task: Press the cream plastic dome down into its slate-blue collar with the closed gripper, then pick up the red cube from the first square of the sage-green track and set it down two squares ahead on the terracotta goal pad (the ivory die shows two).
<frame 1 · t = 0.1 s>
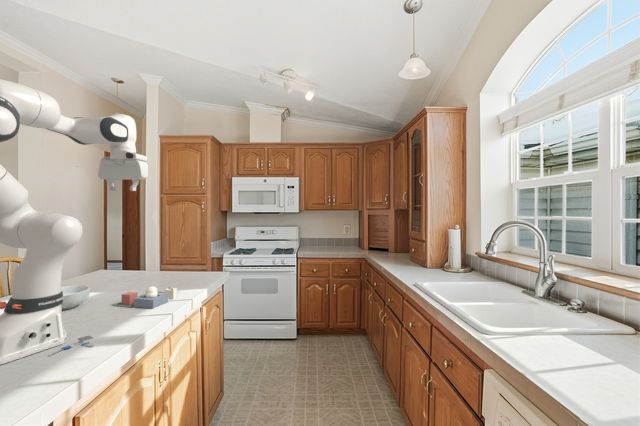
hand: (122, 190, 123), 48 cm above the countertop, fingers open, 8 cm apart
cereal bowl: (64, 308, 125), on the countertop
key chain: (81, 347, 91), on the countertop
track: (142, 299, 139), on the countertop
dome: (151, 292, 131), point 5 cm above the countertop, slide at 0.0 cm
dome collar: (151, 304, 131), on the countertop
die: (170, 297, 142), on the countertop
red cube: (129, 304, 131), resting on track
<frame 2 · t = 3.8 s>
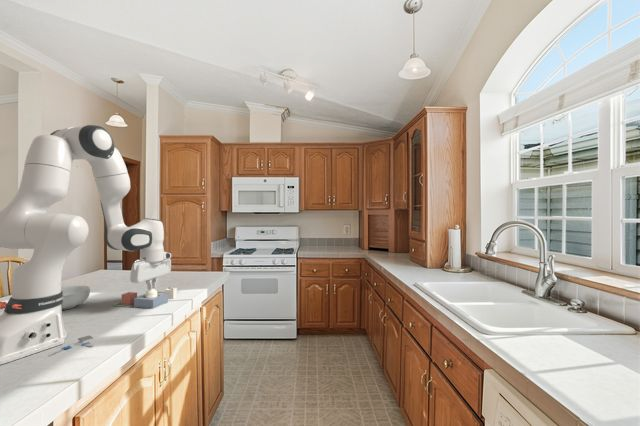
hand: (151, 288, 131), 7 cm above the countertop, fingers closed, pressing on dome
dome: (151, 295, 131), point 4 cm above the countertop, slide at -1.0 cm, touching gripper
everything else where it was.
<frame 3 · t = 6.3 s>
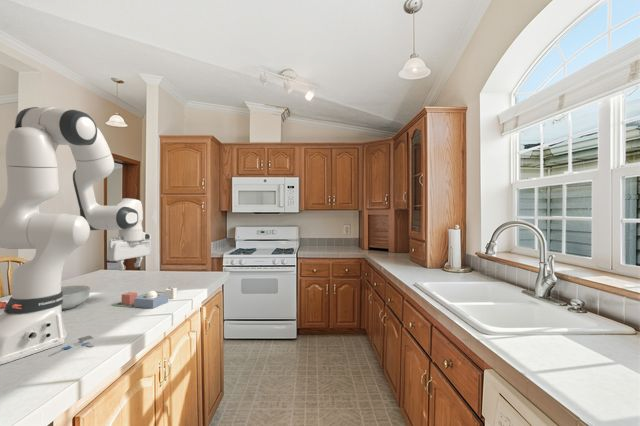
hand: (129, 268, 131), 15 cm above the countertop, fingers open, 7 cm apart
dome: (151, 296, 131), point 3 cm above the countertop, slide at -1.9 cm
everything else where it was.
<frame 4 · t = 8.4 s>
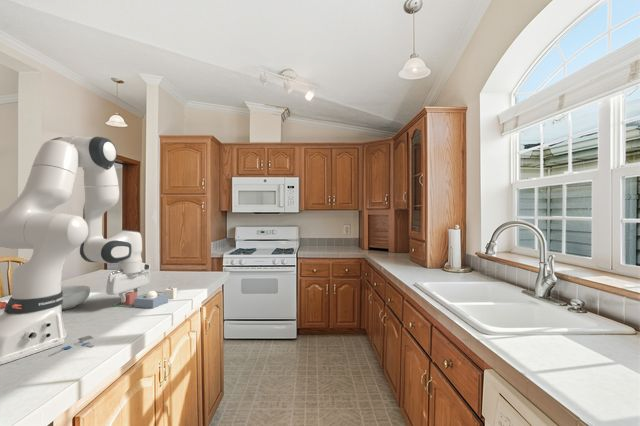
hand: (129, 300, 131), 2 cm above the countertop, fingers closed on red cube, 4 cm apart
red cube: (129, 303, 131), resting on track, touching gripper
everything else where it was.
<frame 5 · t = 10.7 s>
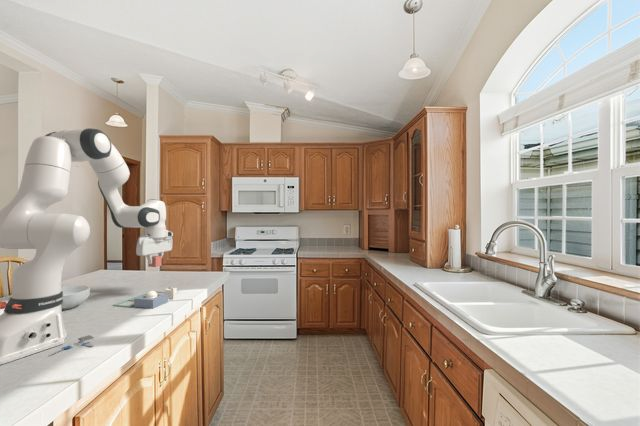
hand: (154, 262, 146), 15 cm above the countertop, fingers closed on red cube, 4 cm apart
red cube: (154, 266, 146), point 14 cm above the countertop, touching gripper
everything else where it was.
when the fingers open (3 cm above the countertop, at t = 13.2 s): red cube drops 1 cm, resting on track.
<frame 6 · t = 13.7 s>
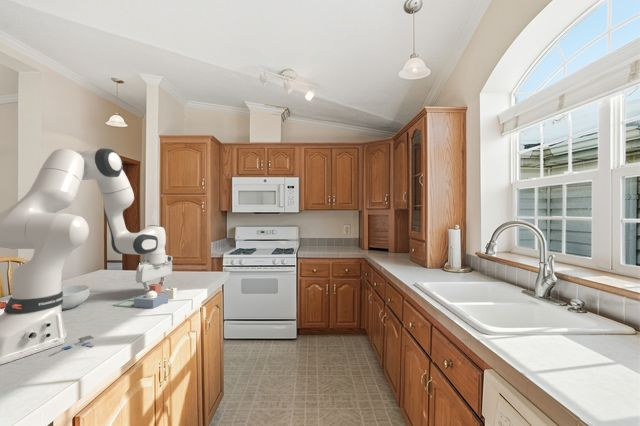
hand: (154, 288, 146), 3 cm above the countertop, fingers open, 8 cm apart
red cube: (154, 294, 146), resting on track
everything else where it was.
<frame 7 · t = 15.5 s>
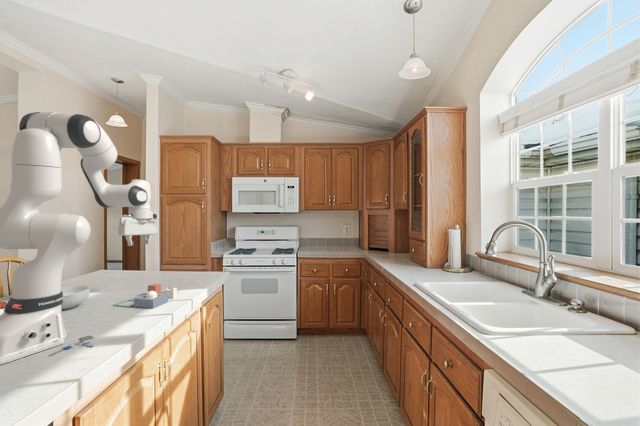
hand: (138, 244, 142), 24 cm above the countertop, fingers open, 8 cm apart
nothing on the countertop moved.
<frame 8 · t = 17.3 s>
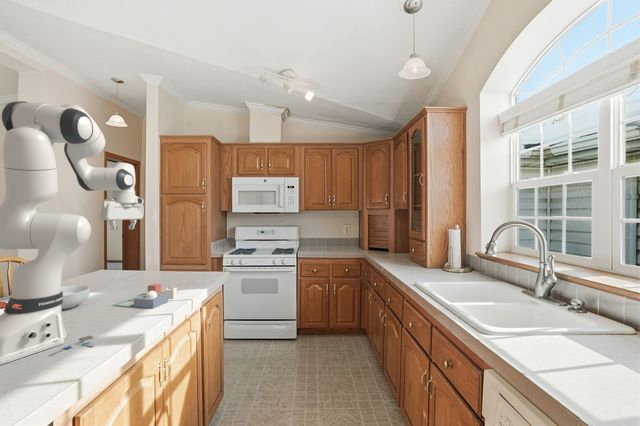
hand: (123, 229, 138), 31 cm above the countertop, fingers open, 8 cm apart
nothing on the countertop moved.
at the end: dome slide at -1.9 cm; red cube inside the target area (0.1 cm from its centre), resting on track; the gripper is holding nothing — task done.
